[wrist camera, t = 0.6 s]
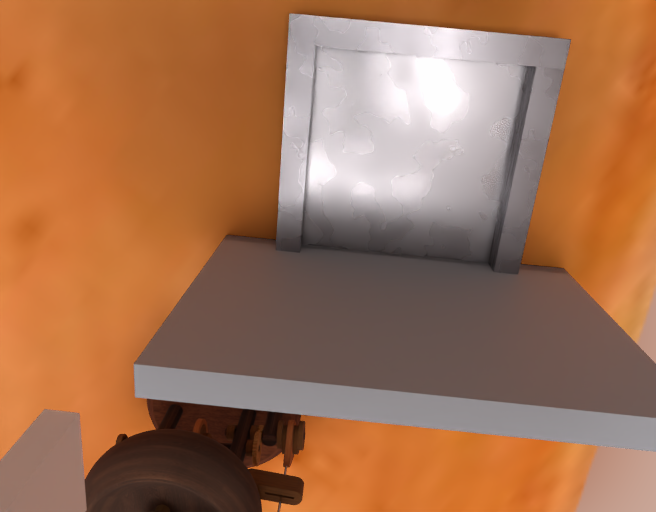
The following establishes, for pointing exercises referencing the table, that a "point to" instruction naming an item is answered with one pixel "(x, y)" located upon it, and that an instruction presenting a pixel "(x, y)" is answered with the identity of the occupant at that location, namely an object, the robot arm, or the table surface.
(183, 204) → the table surface
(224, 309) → the wall board
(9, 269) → the table surface
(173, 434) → the music box
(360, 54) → the plate
